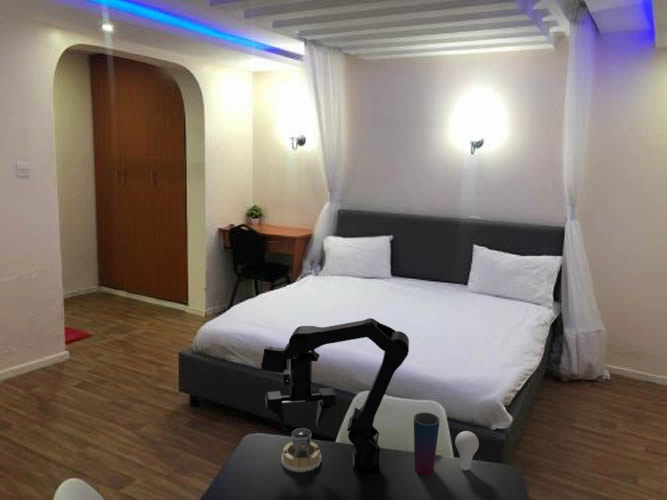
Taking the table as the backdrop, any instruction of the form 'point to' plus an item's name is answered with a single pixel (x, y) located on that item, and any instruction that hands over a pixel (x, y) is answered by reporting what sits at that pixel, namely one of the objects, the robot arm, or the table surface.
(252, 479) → the table surface
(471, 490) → the table surface
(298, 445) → the bayonet cap
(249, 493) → the table surface
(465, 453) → the lightbulb
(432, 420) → the cup
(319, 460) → the ring
